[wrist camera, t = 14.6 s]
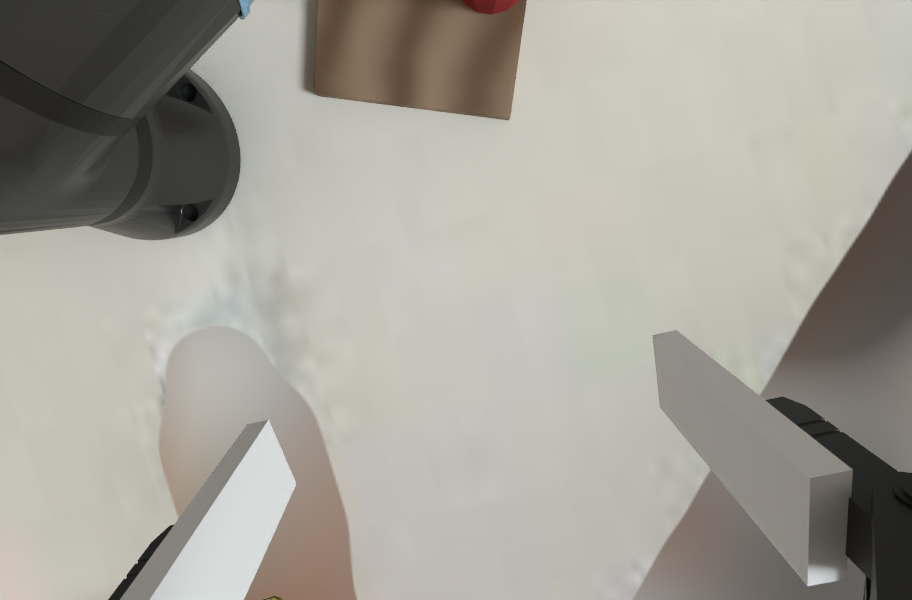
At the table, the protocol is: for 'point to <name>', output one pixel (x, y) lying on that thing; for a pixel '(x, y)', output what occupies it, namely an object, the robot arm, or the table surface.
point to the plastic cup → (490, 5)
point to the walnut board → (419, 54)
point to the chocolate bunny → (273, 598)
